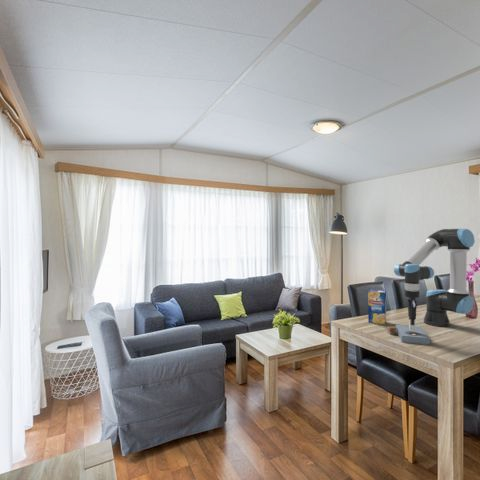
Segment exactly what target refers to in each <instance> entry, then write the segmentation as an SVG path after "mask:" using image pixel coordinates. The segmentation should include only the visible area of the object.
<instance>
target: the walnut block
mask: <svg viewBox="0 0 480 480" xmlns="http://www.w3.org/2000/svg"><path fill="white" fill-rule="evenodd" d="M386 329H387V330H386V332H387V333H388V334H389V335H392V336H393V335H394V336H395V335H397V336H398V334H397V328H396V327H395V326H393V325H391V326H387V327H386Z"/></svg>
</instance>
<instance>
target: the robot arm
mask: <svg viewBox="0 0 480 480" xmlns="http://www.w3.org/2000/svg"><path fill="white" fill-rule="evenodd" d="M474 244H475V235H474V233H473V232H472V231H471V230H470V229H469V228H442V229H439V230H436V231H435V232H433V233H432V234H430V235H428V236H427V238H425V239H424V242H423V243H422V244H421V245H420V246H419V247H418V248H416V249H417V250H415V251H414V252H413V253H412V254H411V255H410V256H409V257H408V258H406V260H405V261H404V262H403V263H400V264H399V263H397V264H396V265H394V268H393V273H394V274H395V276H398V277H401V278H402V277H404V284H403V286H404V289H405V290H404V296H405V297H406V298H408V299H407V310H408V311H407V313H408V315H407V316H408V326H409V330H414V331H415V326H416V319H417V306H418V305H417V300H416V299H418V298H420V280H429V279H432V278H433V277H434V276H435V271H434V269H433V268H432V267H431V266H426V265H425V266H424V265H423V266H421V264H423V262H424V261H425V260H426V259H427V258H428V257H429V256H430V255H431V254H432V253H433V252H434V251H437V250H439V249H440V248H441V247H447V250H448V251H449V256H450V257H449V260H450V261H449V288H448V289H447V290H446V289H429V290H427V291H426V296H425V297H426V305H425V306H426V311H425V314H424V317H423V323H425V324H426V325H429V326H432V327H433V326H434V327H449V326H450V325H451V321H450V319H449V316H448V312H452V313H456V314H461V315H462V314H463V315H467V314H469V313H470V312H471V311H472V310H473V308H474V304H475V303H474V298H473V297H472V296H470V292H469V291H468V289H467V261H468V260H467V259H468V258H467V257H468V256H467V254H468V252H469V251H470V249H471V248H472V247H473V246H474Z"/></svg>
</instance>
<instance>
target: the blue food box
mask: <svg viewBox="0 0 480 480" xmlns="http://www.w3.org/2000/svg"><path fill="white" fill-rule="evenodd" d="M367 296H368V297H367V303H368V305H367V307H368V310H367V313H368V317H367V318H368V319H367V321H368V323H370V324H378V323H379V324H380V325H386V323H387V290H383V289H380V290H379V289H368V291H367Z"/></svg>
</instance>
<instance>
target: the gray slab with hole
mask: <svg viewBox="0 0 480 480" xmlns="http://www.w3.org/2000/svg"><path fill="white" fill-rule="evenodd" d="M394 327H396V328H397V336H398V338H399V339H400V342H401V343H410V344H419V345H431V337H430V336H429V335H428V334H427V333H426V332H425V330H424V329H423V328H422V327H421V326H417V325H415V331H414V330H409V325H404V324H403V325H399V324H395V326H394ZM412 334H416V335H412Z"/></svg>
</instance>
